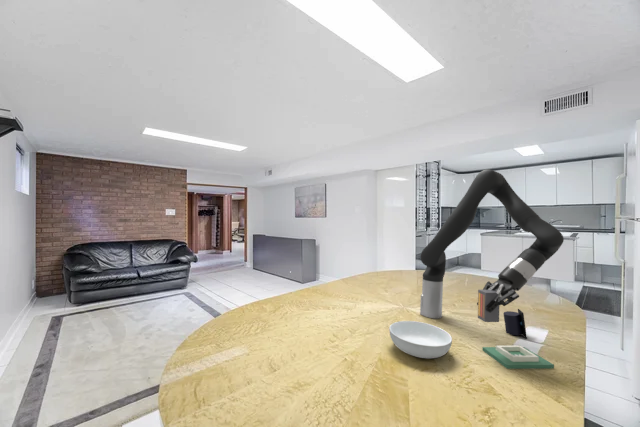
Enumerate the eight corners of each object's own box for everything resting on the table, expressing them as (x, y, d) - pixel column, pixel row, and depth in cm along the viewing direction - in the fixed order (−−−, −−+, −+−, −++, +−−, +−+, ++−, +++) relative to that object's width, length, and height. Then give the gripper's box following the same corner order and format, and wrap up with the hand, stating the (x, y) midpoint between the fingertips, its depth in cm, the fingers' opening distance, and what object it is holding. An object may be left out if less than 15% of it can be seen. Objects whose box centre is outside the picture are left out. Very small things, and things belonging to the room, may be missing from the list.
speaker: (527, 334, 116) (525, 309, 117) (527, 339, 112) (524, 313, 112) (506, 330, 121) (503, 306, 122) (504, 335, 117) (502, 310, 117)
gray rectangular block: (484, 322, 95) (485, 292, 95) (477, 317, 99) (478, 289, 99) (499, 322, 96) (499, 292, 96) (491, 317, 100) (491, 289, 100)
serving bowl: (425, 374, 85) (425, 351, 85) (376, 345, 102) (377, 326, 102) (464, 357, 96) (465, 337, 96) (414, 334, 113) (415, 317, 113)
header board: (507, 368, 89) (507, 360, 89) (482, 350, 101) (482, 342, 101) (553, 368, 90) (554, 360, 90) (524, 350, 102) (524, 342, 102)
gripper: (495, 262, 105) (464, 294, 104) (525, 270, 91) (489, 307, 90) (509, 277, 105) (477, 309, 105) (541, 286, 91) (504, 323, 90)
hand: (483, 308), depth 97 cm, fingers closed on gray rectangular block, 4 cm apart
